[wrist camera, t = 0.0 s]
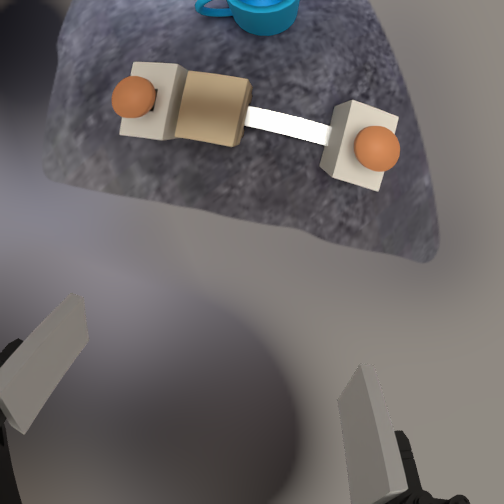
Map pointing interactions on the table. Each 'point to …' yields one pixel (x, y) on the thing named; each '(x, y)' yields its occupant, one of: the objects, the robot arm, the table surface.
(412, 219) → the table surface
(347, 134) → the cabinet
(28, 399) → the robot arm
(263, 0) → the mug
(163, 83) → the cabinet
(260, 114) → the rail
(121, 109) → the plunger
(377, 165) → the plunger
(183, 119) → the block
